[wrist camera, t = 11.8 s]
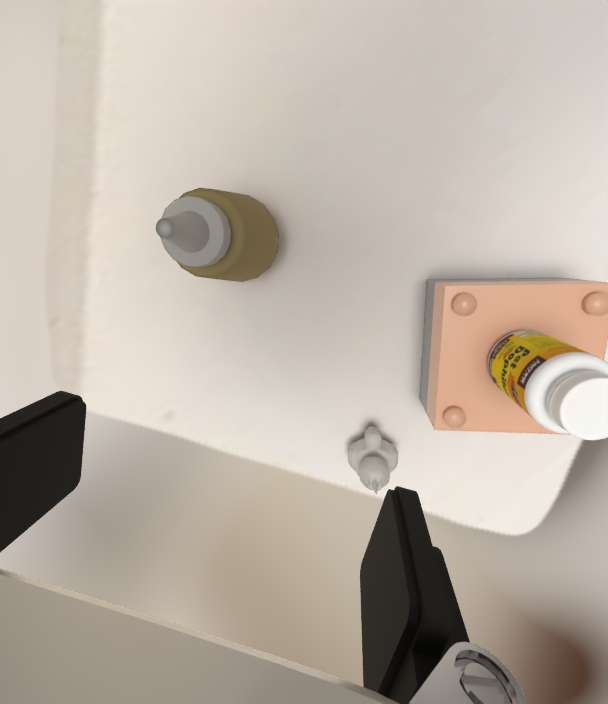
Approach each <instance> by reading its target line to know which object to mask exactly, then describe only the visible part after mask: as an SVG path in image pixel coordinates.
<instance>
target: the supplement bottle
mask: <svg viewBox="0 0 608 704" xmlns="http://www.w3.org/2000/svg"><path fill="white" fill-rule="evenodd" d="M488 371H489V374H490V377H491V379H492V380H493V382H494V383H495V384H496V385H497V386H498V387H499V388H500V389H501V390H502V391H503V392H504V393H505V394H506V395H507V396H509V397H510V398H511V399H512V400H513V401H514V402H515V403H516V404H517V405H518V406H519V407H521V408H522V409H523V410H524V411H525V412H526V413H527V414H528V415H529V416H530V417H531V418H533V419H534V420H535V421H536V422H537V423H538V424H540V425H541V426H542V427H544V428H546V429H548V430H550V431H553V432H557V433H563V434H572V435H573V436H575V437H578V438H581V439H585V440H598V439H603V438H606V437H608V363H607V362H606V361H605V360H603V359H601V358H599V357H597V356H595V355H593V354H590V353H588V352H586V351H583V350H581V349H578V348H576V347H574V346H571V345H569V344H567V343H564V342H562V341H560V340H557V339H555V338H552V337H550V336H548V335H545V334H543V333H540V332H537V331H532V330H521V331H516V332H513V333H510V334H508V335H506V336H505V337H503V338H502V339H500V340H499V341H498V342H497V343H496V344H495V346H494V347H493V348H492V350H491V352H490V355H489V358H488Z"/></svg>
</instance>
